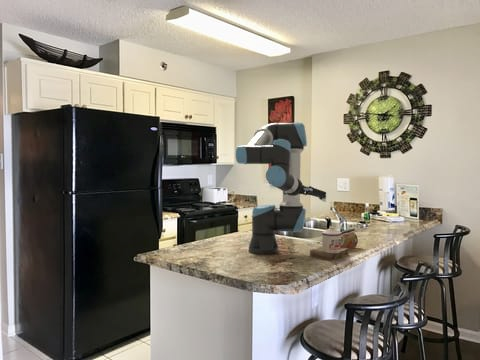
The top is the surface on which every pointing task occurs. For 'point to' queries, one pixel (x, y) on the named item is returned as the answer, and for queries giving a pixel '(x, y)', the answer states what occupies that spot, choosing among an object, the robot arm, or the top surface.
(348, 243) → the brown flat oval piece
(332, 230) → the teacup with lid
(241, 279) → the top surface
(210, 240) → the top surface
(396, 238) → the top surface
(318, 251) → the board
